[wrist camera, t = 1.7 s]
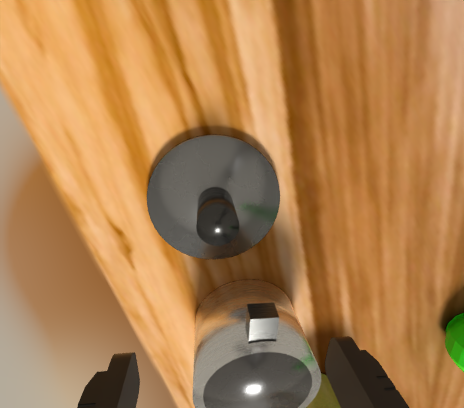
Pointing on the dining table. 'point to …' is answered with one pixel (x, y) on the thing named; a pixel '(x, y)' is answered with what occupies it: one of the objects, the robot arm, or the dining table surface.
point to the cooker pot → (251, 350)
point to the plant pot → (324, 396)
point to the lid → (213, 197)
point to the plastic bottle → (456, 340)
